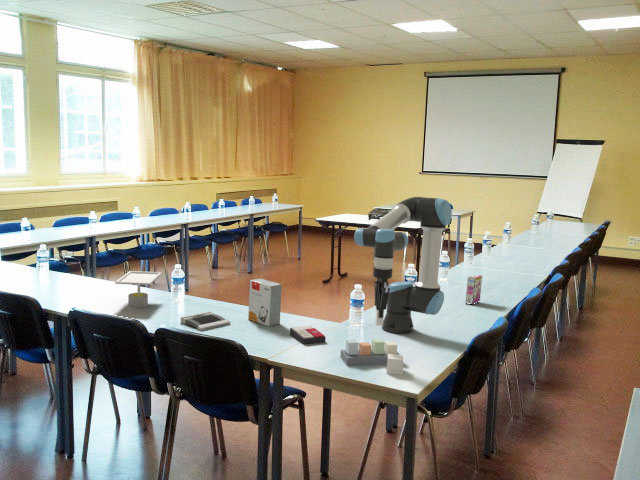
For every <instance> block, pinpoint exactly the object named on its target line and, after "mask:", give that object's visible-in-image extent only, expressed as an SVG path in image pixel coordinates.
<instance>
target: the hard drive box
mask: <svg viewBox="0 0 640 480" xmlns="http://www.w3.org/2000/svg"><path fill="white" fill-rule="evenodd" d="M248 288H249V291H248V293H249V294H248V315H247V316H248V320H250V321H251V322H255V323H258V324H261V325H264V326H266V327H272V325H273V326H276V324H277V325H280V324H281V306H282V305H281V304H282V288H283V287H282V283H278V282H275V281H271V280H268V279H264V278H256V279H250V280H249V287H248Z"/></svg>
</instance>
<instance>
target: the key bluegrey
mask: <svg viewBox="0 0 640 480" xmlns="http://www.w3.org/2000/svg"><path fill="white" fill-rule="evenodd" d="M345 350H346V353H347V354H348V355H358V350H359V341H358V340H356V339H346V340H345Z"/></svg>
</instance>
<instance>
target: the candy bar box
mask: <svg viewBox="0 0 640 480" xmlns="http://www.w3.org/2000/svg"><path fill="white" fill-rule="evenodd" d="M466 281H467V285H466V291H465V293H466V294H465V302H466V303H470V304H474V303H476V302H478V301H481V293H482V284H483V283H482V282H483V275H481V274H473V275H470V276H467V280H466Z"/></svg>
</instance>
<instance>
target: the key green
mask: <svg viewBox="0 0 640 480" xmlns="http://www.w3.org/2000/svg"><path fill="white" fill-rule="evenodd" d="M385 342H386V341H385V340H383V339H381V338H379V339H377V338H375V339H374V338H373V339H372V340H371V349H372V352H373V353H374V354H384V347H385Z"/></svg>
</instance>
